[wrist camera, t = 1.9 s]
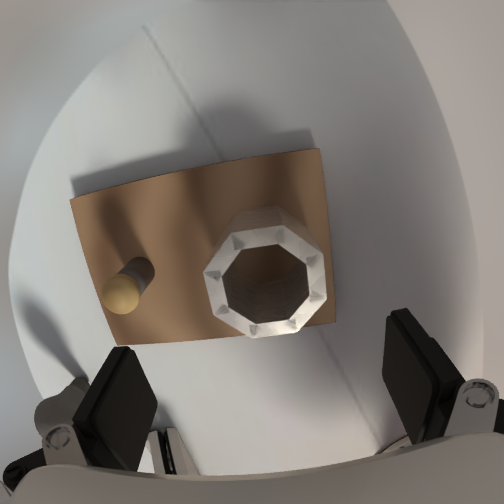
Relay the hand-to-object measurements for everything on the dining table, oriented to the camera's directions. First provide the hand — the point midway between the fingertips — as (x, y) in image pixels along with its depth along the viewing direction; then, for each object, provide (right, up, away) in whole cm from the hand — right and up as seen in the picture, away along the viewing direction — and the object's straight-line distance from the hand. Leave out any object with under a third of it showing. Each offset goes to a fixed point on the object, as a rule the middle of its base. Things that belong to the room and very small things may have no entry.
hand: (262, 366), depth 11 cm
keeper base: (-4, +4, +15) cm, 16 cm away
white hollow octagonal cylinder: (+1, +4, +13) cm, 14 cm away
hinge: (-9, -25, +25) cm, 36 cm away
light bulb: (-20, -11, +20) cm, 31 cm away
